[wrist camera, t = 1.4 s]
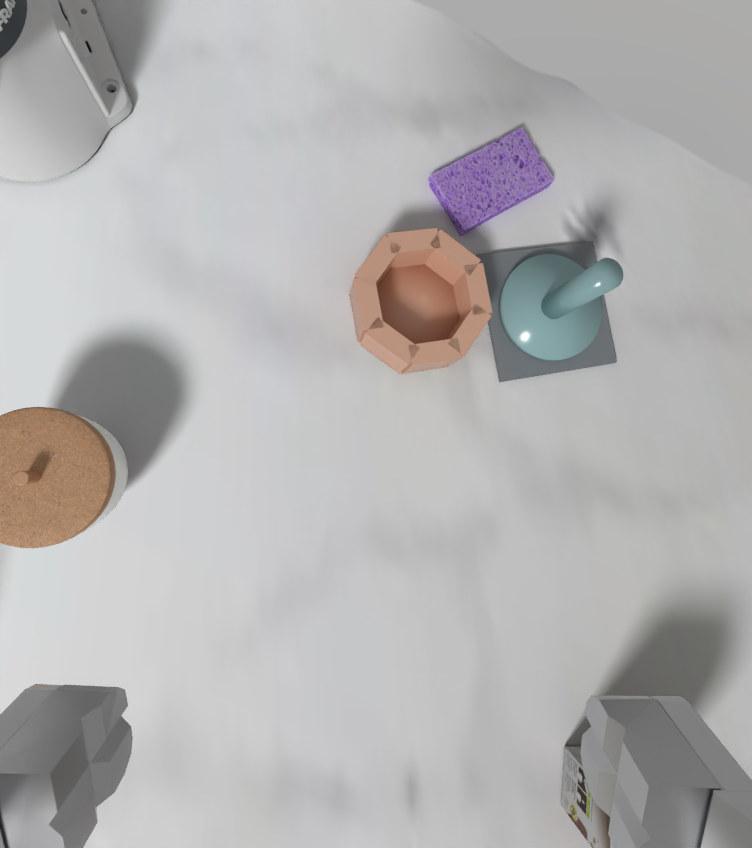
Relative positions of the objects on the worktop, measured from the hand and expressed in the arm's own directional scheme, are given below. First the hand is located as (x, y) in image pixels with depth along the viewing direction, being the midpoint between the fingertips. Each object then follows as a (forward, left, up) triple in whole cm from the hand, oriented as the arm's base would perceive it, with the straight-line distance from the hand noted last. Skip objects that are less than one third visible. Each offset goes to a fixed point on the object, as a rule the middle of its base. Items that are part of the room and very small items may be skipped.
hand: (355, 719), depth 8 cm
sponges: (-31, +25, -38) cm, 55 cm away
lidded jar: (-7, -20, -38) cm, 43 cm away
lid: (-16, +29, -37) cm, 49 cm away
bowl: (-18, +14, -37) cm, 43 cm away
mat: (-16, +29, -37) cm, 50 cm away
